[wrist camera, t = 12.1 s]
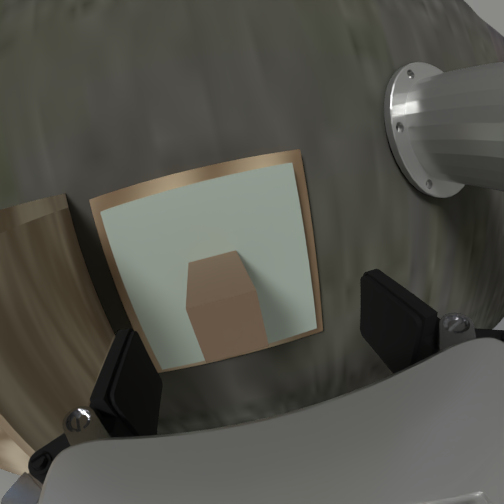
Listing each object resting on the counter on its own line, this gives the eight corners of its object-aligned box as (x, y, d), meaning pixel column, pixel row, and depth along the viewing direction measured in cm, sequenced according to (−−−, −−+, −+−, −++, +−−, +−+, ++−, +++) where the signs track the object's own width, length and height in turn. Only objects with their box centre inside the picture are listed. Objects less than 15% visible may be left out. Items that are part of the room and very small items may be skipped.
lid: (287, 162, 17) (340, 160, 10) (311, 321, 21) (354, 377, 14) (105, 209, 16) (54, 234, 9) (163, 361, 19) (157, 431, 13)
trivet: (296, 149, 17) (299, 149, 17) (320, 327, 22) (322, 330, 21) (92, 198, 16) (89, 199, 15) (155, 368, 20) (154, 373, 20)
